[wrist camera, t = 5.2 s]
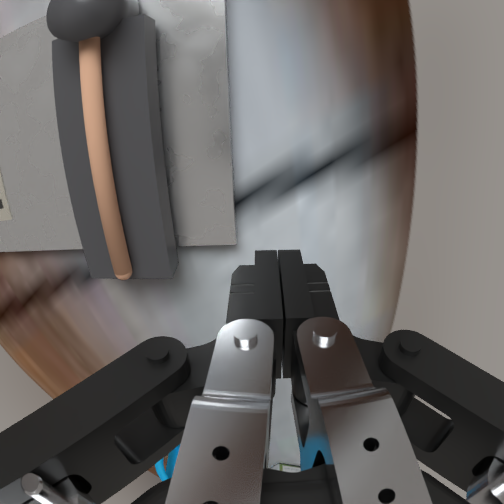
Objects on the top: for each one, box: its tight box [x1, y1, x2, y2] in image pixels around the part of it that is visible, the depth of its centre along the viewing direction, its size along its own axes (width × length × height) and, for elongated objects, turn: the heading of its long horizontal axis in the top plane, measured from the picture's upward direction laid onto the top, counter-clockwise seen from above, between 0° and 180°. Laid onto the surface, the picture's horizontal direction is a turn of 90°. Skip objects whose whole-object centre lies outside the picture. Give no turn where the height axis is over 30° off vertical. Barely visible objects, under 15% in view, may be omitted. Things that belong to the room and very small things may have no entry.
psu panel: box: [0, 0, 237, 252], centre depth 18 cm, size 28×18×1 cm, turn 92°
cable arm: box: [46, 0, 179, 280], centre depth 16 cm, size 19×6×4 cm, turn 2°
